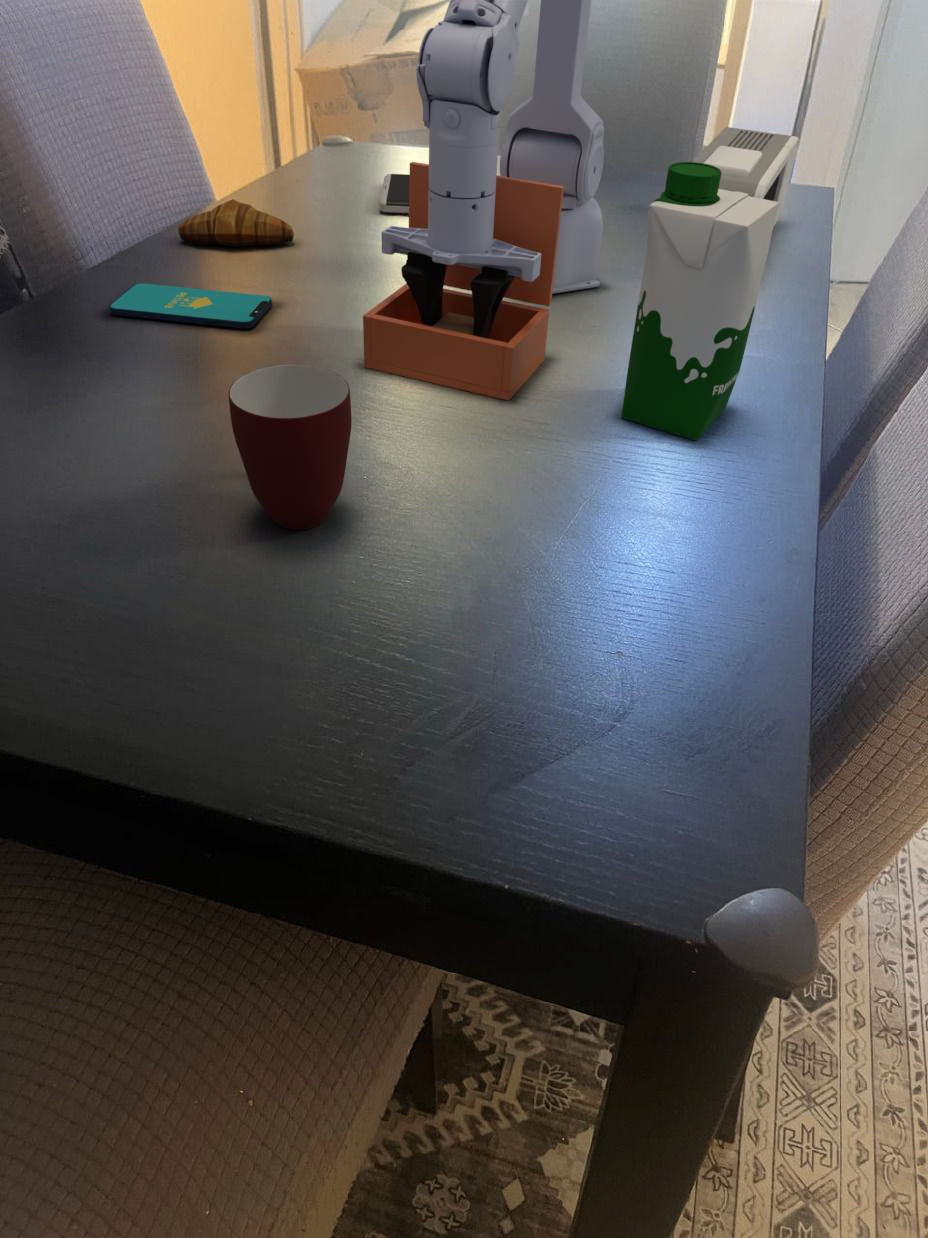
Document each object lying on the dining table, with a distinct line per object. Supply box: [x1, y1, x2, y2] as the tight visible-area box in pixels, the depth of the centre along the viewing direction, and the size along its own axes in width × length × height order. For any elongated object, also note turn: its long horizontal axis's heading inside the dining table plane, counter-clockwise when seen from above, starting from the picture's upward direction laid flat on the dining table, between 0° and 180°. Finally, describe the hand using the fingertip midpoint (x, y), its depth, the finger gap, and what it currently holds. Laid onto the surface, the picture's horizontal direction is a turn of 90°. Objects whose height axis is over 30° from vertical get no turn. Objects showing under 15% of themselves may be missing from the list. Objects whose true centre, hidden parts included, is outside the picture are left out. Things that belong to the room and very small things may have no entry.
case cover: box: [408, 161, 564, 307], centre depth 87 cm, size 10×15×1 cm
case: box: [362, 282, 550, 401], centre depth 89 cm, size 10×15×5 cm, turn 67°
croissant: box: [177, 199, 295, 247], centre depth 112 cm, size 14×7×5 cm, turn 94°
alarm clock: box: [692, 126, 800, 227], centre depth 116 cm, size 27×9×12 cm, turn 157°
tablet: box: [378, 173, 410, 214], centre depth 129 cm, size 13×27×2 cm, turn 90°
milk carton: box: [620, 161, 779, 442], centre depth 78 cm, size 9×9×20 cm
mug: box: [228, 363, 352, 531], centre depth 68 cm, size 11×8×10 cm
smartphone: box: [109, 282, 273, 329], centre depth 97 cm, size 7×1×15 cm
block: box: [432, 312, 474, 335], centre depth 89 cm, size 5×4×3 cm
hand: (456, 342), depth 89 cm, fingers open, 4 cm apart
